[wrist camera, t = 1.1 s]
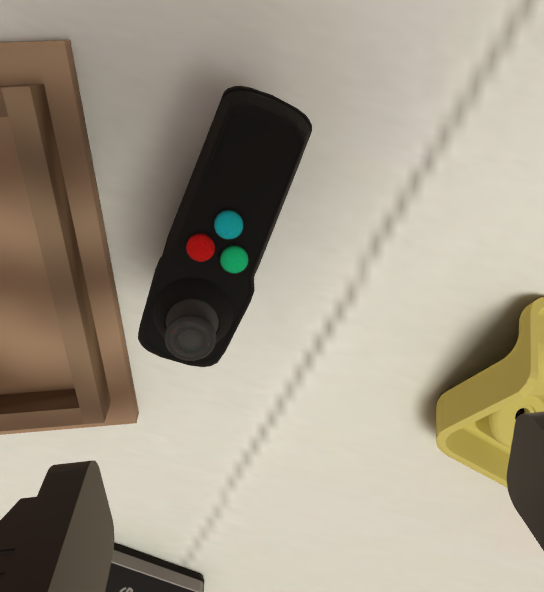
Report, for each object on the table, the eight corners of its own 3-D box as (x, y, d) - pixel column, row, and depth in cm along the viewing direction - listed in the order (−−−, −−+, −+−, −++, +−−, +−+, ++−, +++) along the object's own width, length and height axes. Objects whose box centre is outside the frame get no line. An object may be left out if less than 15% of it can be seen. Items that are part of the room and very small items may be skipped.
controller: (148, 281, 30) (117, 380, 21) (223, 68, 26) (223, 77, 17) (218, 304, 31) (217, 407, 22) (301, 103, 27) (342, 130, 18)
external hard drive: (165, 620, 44) (162, 644, 42) (39, 579, 40) (30, 604, 39) (207, 570, 42) (206, 594, 40) (78, 523, 38) (71, 547, 36)
